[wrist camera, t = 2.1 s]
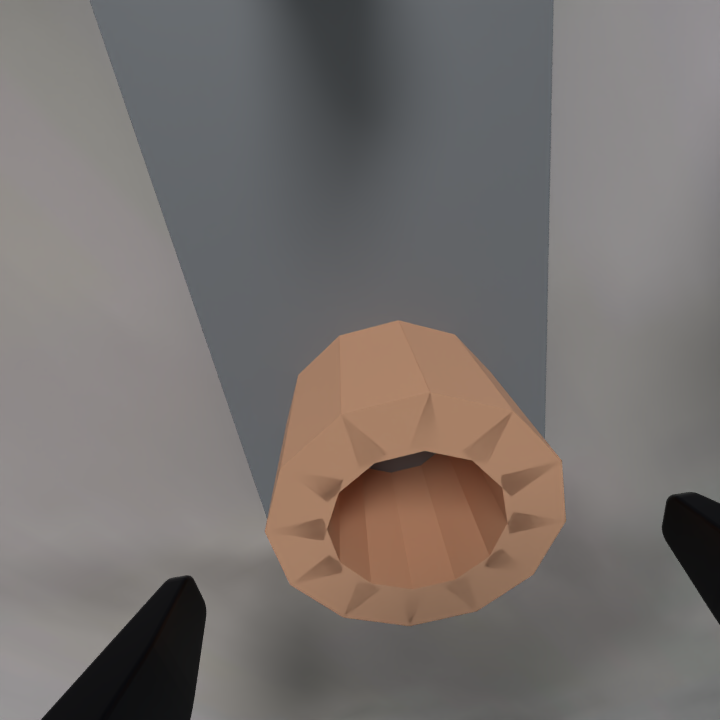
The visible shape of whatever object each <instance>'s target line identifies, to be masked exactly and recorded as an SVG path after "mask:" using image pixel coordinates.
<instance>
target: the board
mask: <svg viewBox="0 0 720 720" xmlns="http://www.w3.org/2000/svg"><path fill="white" fill-rule="evenodd" d="M90 3H91V6H92V9H93V12H94V14H95V17H96V20H97V23H98V26H99V29H100V32H101V35H102V38H103V41H104V44H105V47H106V50H107V52H108V55H109V58H110V61H111V64H112V67H113V70H114V73H115V76H116V79H117V82H118V85H119V87H120V90H121V93H122V96H123V99H124V102H125V105H126V108H127V111H128V114H129V117H130V120H131V123H132V125H133V128H134V131H135V134H136V137H137V140H138V143H139V146H140V149H141V152H142V155H143V158H144V160H145V163H146V166H147V169H148V172H149V175H150V178H151V181H152V184H153V187H154V190H155V193H156V196H157V198H158V201H159V204H160V207H161V210H162V213H163V216H164V219H165V222H166V225H167V228H168V231H169V233H170V236H171V239H172V242H173V245H174V248H175V251H176V254H177V257H178V260H179V263H180V266H181V269H182V271H183V274H184V277H185V280H186V283H187V286H188V289H189V292H190V295H191V298H192V301H193V304H194V306H195V309H196V312H197V315H198V318H199V321H200V324H201V327H202V330H203V333H204V336H205V339H206V342H207V344H208V347H209V350H210V353H211V356H212V359H213V362H214V365H215V368H216V371H217V374H218V377H219V379H220V382H221V385H222V388H223V391H224V394H225V397H226V400H227V403H228V406H229V409H230V412H231V415H232V417H233V420H234V423H235V426H236V429H237V432H238V435H239V438H240V441H241V444H242V447H243V450H244V452H245V455H246V458H247V461H248V464H249V467H250V470H251V473H252V476H253V479H254V482H255V485H256V488H257V490H258V493H259V496H260V499H261V502H262V505H263V508H264V511H265V514H266V517H267V518H268V513H269V508H270V503H271V498H272V493H273V488H274V483H275V478H276V473H277V468H278V463H279V458H280V454H281V449H282V444H283V439H284V434H285V429H286V424H287V419H288V415H289V411H290V407H291V403H292V399H293V395H294V390H295V386H296V382H297V378H298V375H299V374H300V373H301V372H302V371H303V370H304V369H305V368H306V367H307V366H308V365H309V364H310V363H311V362H312V361H313V360H314V359H315V358H316V357H318V356H319V355H320V354H321V353H322V352H323V351H324V350H325V349H326V348H327V347H328V346H329V345H330V344H331V343H332V342H333V341H334V340H335V339H336V338H337V337H338V336H340V335H344V334H347V333H351V332H355V331H359V330H363V329H367V328H370V327H374V326H378V325H382V324H386V323H389V322H393V321H397V320H400V321H403V322H407V323H411V324H415V325H419V326H423V327H427V328H431V329H435V330H439V331H443V332H447V333H451V334H455V335H456V336H457V337H458V338H459V339H460V340H461V341H462V343H463V344H464V345H465V346H466V347H467V348H468V349H469V350H470V351H471V352H472V353H473V354H474V355H475V356H476V357H477V358H478V359H479V360H480V361H481V363H482V364H483V365H484V366H485V367H486V368H487V369H488V370H489V371H490V372H491V373H492V374H493V376H494V377H495V378H496V379H497V381H498V382H499V383H500V384H501V386H502V387H503V388H504V389H505V391H506V392H507V393H508V394H509V396H510V397H511V398H512V399H513V401H514V402H515V403H516V404H517V406H518V407H519V408H520V409H521V411H522V412H523V413H524V414H525V416H526V417H527V418H528V419H529V421H530V422H531V423H532V424H533V426H534V427H535V428H536V429H537V431H538V432H539V433H540V434H541V435H542V437H543V438H544V439H545V400H546V350H547V300H548V249H549V199H550V149H551V99H552V48H553V0H90ZM435 454H436V453H433V452H428V451H422V452H418V453H414V454H410V455H406V456H402V457H398V458H394V459H390V460H385V461H381V462H377V463H374V464H373V465H372V466H371V467H369V469H374V470H380V471H385V472H390V473H391V472H396V471H400V470H404V469H408V468H412V467H416V466H420V465H422V464H423V463H425V462H426V461H427V460H428V459H430V458H431V457H432V456H433V455H435Z"/></svg>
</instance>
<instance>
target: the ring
mask: <svg viewBox="0 0 720 720" xmlns="http://www.w3.org/2000/svg"><path fill="white" fill-rule="evenodd" d="M422 451H428V452H433V453H436V454H435V455H433V456H432V457H431V458H430V459H428V460H427V461H426V462H425V463H423V464H422V465H420V466H416V467H412V468H408V469H404V470H400V471H396V472H391V473H390V472H385V471H380V470H374V469H369V467H371V466H372V465H373V464H374V463H377V462H381V461H385V460H390V459H394V458H398V457H402V456H406V455H410V454H414V453H418V452H422ZM565 522H566V515H565V501H564V486H563V472H562V460H561V459H560V458H559V457H558V455H557V454H556V453H555V452H554V450H553V449H552V448H551V447H550V445H549V444H548V443H547V442H546V440H545V439H544V438H543V437H542V435H541V434H540V433H539V432H538V431H537V429H536V428H535V427H534V426H533V424H532V423H531V422H530V421H529V419H528V418H527V417H526V416H525V414H524V413H523V412H522V411H521V409H520V408H519V407H518V406H517V404H516V403H515V402H514V401H513V399H512V398H511V397H510V396H509V394H508V393H507V392H506V391H505V389H504V388H503V387H502V386H501V384H500V383H499V382H498V381H497V379H496V378H495V377H494V376H493V374H492V373H491V372H490V371H489V370H488V369H487V368H486V367H485V366H484V365H483V364H482V363H481V361H480V360H479V359H478V358H477V357H476V356H475V355H474V354H473V353H472V352H471V351H470V350H469V349H468V348H467V347H466V346H465V345H464V344H463V343H462V341H461V340H460V339H459V338H458V337H457V336H456V335H455V334H451V333H447V332H443V331H439V330H435V329H431V328H427V327H423V326H419V325H415V324H411V323H407V322H403V321H400V320H397V321H393V322H389V323H386V324H382V325H378V326H374V327H370V328H367V329H363V330H359V331H355V332H351V333H347V334H344V335H340V336H338V337H337V338H336V339H335V340H334V341H333V342H332V343H331V344H330V345H329V346H328V347H327V348H326V349H325V350H324V351H323V352H322V353H321V354H320V355H319V356H318V357H316V358H315V359H314V360H313V361H312V362H311V363H310V364H309V365H308V366H307V367H306V368H305V369H304V370H303V371H302V372H301V373H300V374H299V375H298V378H297V382H296V386H295V390H294V395H293V399H292V403H291V407H290V411H289V415H288V419H287V424H286V429H285V434H284V439H283V444H282V449H281V454H280V458H279V463H278V468H277V473H276V478H275V483H274V488H273V493H272V498H271V503H270V508H269V513H268V518H267V523H266V528H265V533H266V535H267V537H268V539H269V541H270V543H271V546H272V548H273V550H274V552H275V554H276V556H277V558H278V560H279V562H280V564H281V566H282V569H283V571H284V573H285V575H286V577H287V579H288V581H289V583H290V585H291V586H293V587H295V588H296V589H298V590H299V591H301V592H303V593H304V594H306V595H308V596H309V597H311V598H313V599H314V600H316V601H317V602H319V603H321V604H322V605H324V606H326V607H327V608H329V609H330V610H332V611H334V612H335V613H337V614H339V615H340V616H342V617H344V618H351V619H359V620H366V621H374V622H382V623H389V624H397V625H404V626H413V625H417V624H422V623H426V622H431V621H435V620H440V619H444V618H449V617H453V616H458V615H462V614H467V613H471V612H476V611H478V610H479V609H481V608H483V607H484V606H486V605H487V604H489V603H490V602H492V601H493V600H495V599H496V598H498V597H500V596H501V595H503V594H504V593H506V592H507V591H509V590H510V589H512V588H513V587H515V586H516V585H518V584H520V583H521V582H523V581H524V580H526V579H527V578H529V577H530V576H532V575H533V574H534V573H535V571H536V569H537V568H538V566H539V564H540V563H541V561H542V559H543V558H544V556H545V555H546V553H547V551H548V550H549V548H550V546H551V545H552V543H553V541H554V540H555V538H556V537H557V535H558V533H559V532H560V530H561V528H562V527H563V525H564V523H565Z"/></svg>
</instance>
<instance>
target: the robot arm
mask: <svg viewBox="0 0 720 720" xmlns="http://www.w3.org/2000/svg"><path fill="white" fill-rule="evenodd" d="M662 532H663V535H664V538H665V540H666V542H667V544H668V545H669V547H670V548H671V550H672V551H673V553H674V554H675V556H676V558H677V559H678V561H679V562H680V564H681V565H682V567H683V569H684V570H685V572H686V573H687V575H688V576H689V578H690V580H691V581H692V583H693V584H694V586H695V587H696V589H697V590H698V592H699V594H700V595H701V597H702V598H703V600H704V601H705V603H706V605H707V606H708V608H709V609H710V611H711V612H712V614H713V615H714V617H715V618H716V620H717V621H718V623H719V624H720V503H718V502H716V501H713V500H711V499H709V498H707V497H704V496H702V495H700V494H697V493H694V492H686V493H680V494H674V495H671V496H669V497H668V499H667V501H666V506H665V512H664V518H663V523H662ZM205 621H206V605H205V602H204V599H203V597H202V595H201V593H200V591H199V589H198V587H197V585H196V583H195V581H194V579H193V578H192V577H191V576H188V575H186V576H180V577H174V578H170V579H168V580H167V581H166V582H165V583H164V584H163V585H162V586H161V587H160V588H159V589H158V590H157V591H156V592H155V594H154V595H153V596H152V597H151V598H150V599H149V600H148V601H147V602H146V604H145V605H144V606H143V607H142V608H141V609H140V610H139V611H138V612H137V614H136V615H135V616H134V617H133V618H132V619H131V620H130V621H129V622H128V624H127V625H126V626H125V627H124V628H123V629H122V630H121V631H120V632H119V634H118V635H117V636H116V637H115V638H114V639H113V640H112V641H111V642H110V644H109V645H108V646H107V647H106V648H105V649H104V650H103V651H102V652H101V654H100V655H99V656H98V657H97V658H96V659H95V660H94V661H93V662H92V664H91V665H90V666H89V667H88V668H87V669H86V670H85V671H84V672H83V674H82V675H81V676H80V677H79V678H78V679H77V680H76V681H75V682H74V683H73V685H72V686H71V687H70V688H69V689H68V690H67V691H66V692H65V693H64V695H63V696H62V697H61V698H60V699H59V700H58V701H57V702H56V703H55V705H54V706H53V707H52V708H51V709H50V710H49V711H48V712H47V713H46V715H45V716H44V717H43V718H42V719H41V720H190V718H191V714H192V709H193V703H194V697H195V690H196V683H197V676H198V669H199V662H200V655H201V649H202V642H203V635H204V628H205Z"/></svg>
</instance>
